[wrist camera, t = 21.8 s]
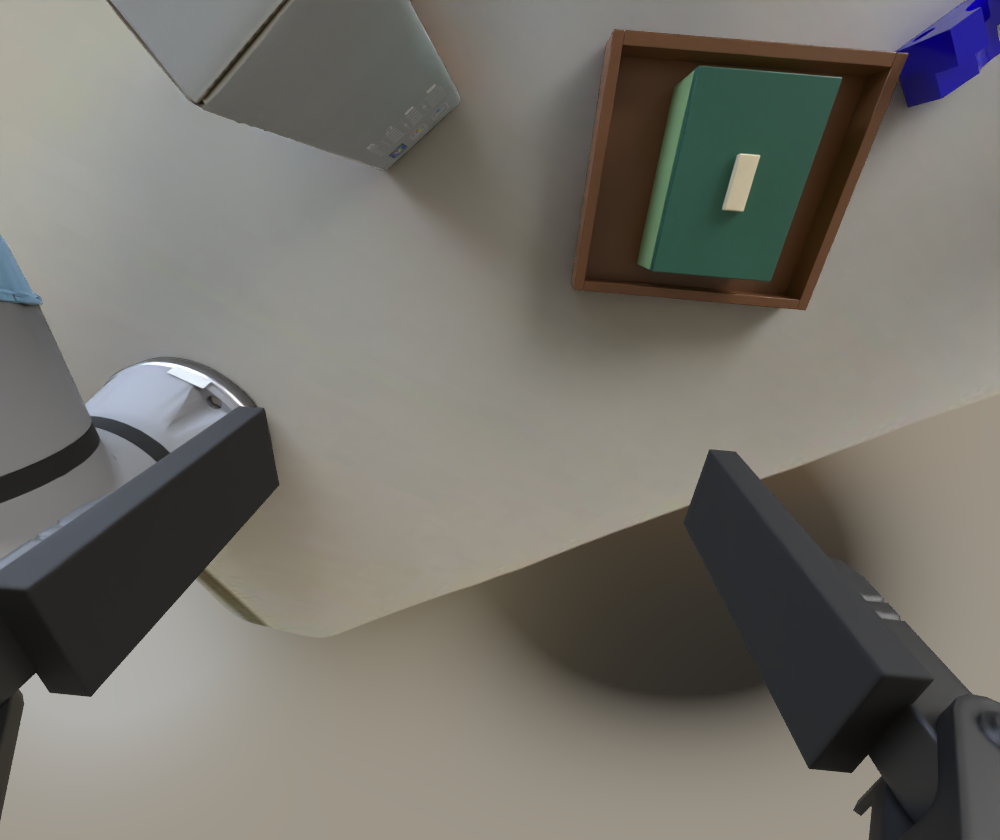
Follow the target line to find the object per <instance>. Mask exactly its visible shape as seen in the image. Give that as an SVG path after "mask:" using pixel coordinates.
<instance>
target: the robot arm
mask: <svg viewBox="0 0 1000 840" xmlns="http://www.w3.org/2000/svg"><path fill="white" fill-rule="evenodd" d="M39 304H41V305H42V304H43V303H42V299H41V297H40V296H38V295H36V294H35V293H33V292H32V290H31V288H30V286H29V284H28V282H27V280H26V279H25V277H24V275H23V273H22V271H21V269H20V267H19V265H18V264H17V262H16V260H15V258H14V256H13V254H12V252H11V250H10V248H9V247H8V245H7V243H6V242H5V240H4V239H3V238H2V237H1V236H0V819H1V814H2V809H3V804H4V800H5V795H6V790H7V785H8V780H9V775H10V770H11V765H12V760H13V755H14V750H15V745H16V741H17V736H18V731H19V726H20V721H21V716H22V711H23V706H24V701H23V695H22V693H21V692H20V690H19V688H20V687H21V686H22V685H23V684H24V683H25V682H26V681H28V679H29V678H31V677H32V675H34V674H35V673H37V674H38V676H39V677H40V679H41V680H42V682H43V683H44V685H45V686H46V688H47V689H48V691H49V692H50V693H60V694H69V695H79V696H89V697H91V696H92V695H93V694H94V693H95V692H96V690H97V689H98V688H99V687H100V686H101V684H103V682H104V681H105V680H106V679H107V678H108V677H109V676H110V675H111V674H112V672H113V671H114V670H115V669H116V668H117V667H118V666H119V665H120V663H121V662H122V661H123V660H124V659H125V658H126V657H127V655H128V654H129V653H130V652H131V651H132V650H133V649H134V647H135V646H136V645H137V644H138V643H139V642H140V641H141V640H142V639H143V638H144V636H145V635H146V634H147V633H148V632H149V631H150V630H151V629H152V627H153V626H154V625H155V624H156V623H157V622H158V621H159V620H160V618H161V617H162V616H163V615H164V614H165V613H166V612H167V611H168V609H169V608H170V607H171V606H172V605H173V604H174V603H175V602H176V600H177V599H178V598H179V597H180V596H181V595H182V594H183V593H184V591H185V590H186V589H187V588H188V587H189V586H190V585H191V584H192V582H193V581H194V580H195V579H196V578H197V577H198V576H199V575H200V573H201V572H202V571H203V570H204V569H205V568H206V567H207V566H208V564H209V563H210V562H211V561H212V560H213V559H214V558H215V557H216V556H217V554H218V553H219V552H220V551H221V550H222V549H223V548H224V547H225V545H226V544H227V543H228V542H229V541H230V540H231V539H232V538H233V536H234V535H235V534H236V533H237V532H238V531H239V530H240V529H241V527H242V526H243V525H244V524H245V523H246V522H247V521H248V520H249V518H250V517H251V516H252V515H253V514H254V513H255V512H256V511H257V509H258V508H259V507H260V506H261V505H262V504H263V503H264V502H265V500H266V499H267V498H268V497H269V496H270V495H271V494H272V493H273V491H274V490H275V489H276V488H277V487H278V486H279V481H278V476H277V471H276V466H275V461H274V455H273V450H272V444H271V437H270V433H269V430H268V425H267V419H266V414H265V409H264V408H257V407H256V405H255V404H254V403H253V401H252V400H251V399H250V398H249V397H248V396H247V395H246V394H245V392H244V391H242V390H241V389H240V388H239V387H238V386H237V385H236V384H234V383H233V382H232V381H231V380H229V379H228V378H226V377H225V376H223V375H222V374H220V373H218V372H217V371H215V370H213V369H211V368H209V367H207V366H204V365H202V364H199V363H196V362H193V361H190V360H185V359H180V358H171V357H161V358H153V359H149V360H145V361H142V362H140V363H137V364H135V365H132V366H130V367H127V368H125V369H123V370H121V371H119V372H117V373H116V374H114V375H113V376H112V377H111V378H110V379H109V380H108V381H107V382H106V384H105V385H104V386H103V388H102V389H100V390H99V391H98V392H97V393H96V394H95V395H94V396H93V397H92V398H91V399H90V400H89V401H88V402H87V403H86V404H84V402H83V400H82V398H81V396H80V394H79V391H78V389H77V387H76V385H75V383H74V380H73V378H72V376H71V374H70V372H69V370H68V367H67V365H66V363H65V361H64V359H63V356H62V354H61V352H60V350H59V348H58V346H57V343H56V341H55V339H54V337H53V335H52V332H51V330H50V328H49V326H48V324H47V321H46V319H45V317H44V315H43V313H42V311H41V308H40V306H39ZM684 525H685V527H686V529H687V531H688V533H689V535H690V537H691V539H692V541H693V542H694V544H695V546H696V548H697V550H698V552H699V554H700V556H701V558H702V560H703V562H704V564H705V566H706V568H707V570H708V572H709V574H710V576H711V578H712V580H713V582H714V583H715V586H716V588H717V590H718V591H719V593H720V595H721V597H722V599H723V601H724V603H725V605H726V607H727V609H728V611H729V613H730V615H731V617H732V619H733V621H734V623H735V625H736V627H737V629H738V631H739V632H740V635H741V637H742V638H743V640H744V642H745V644H746V646H747V648H748V650H749V652H750V654H751V656H752V658H753V660H754V662H755V664H756V666H757V668H758V670H759V672H760V674H761V676H762V678H763V680H764V682H765V684H766V686H767V688H768V689H769V691H770V693H771V695H772V697H773V699H774V701H775V703H776V705H777V707H778V709H779V711H780V713H781V715H782V717H783V719H784V720H785V723H786V725H787V727H788V729H789V731H790V732H791V735H792V737H793V738H794V740H795V742H796V744H797V746H798V748H799V750H800V752H801V754H802V756H803V758H804V760H805V762H806V764H807V766H808V768H809V769H817V770H827V771H837V772H848V773H852V772H853V771H854V770H855V769H856V767H857V766H858V765H859V764H860V763H861V762H862V761H863V759H864V758H865V757H866V756H867V755H869V756H870V758H871V759H872V761H873V763H874V764H875V766H876V767H877V769H878V770H879V772H880V774H881V775H882V776H881V777H880V778H879V780H877V782H875V783H874V785H873V786H872V787H871V788H870V789H869V790H868V791H867V792H866V793H865V794H864V795H863V796H862V797H861V798H860V799H859V800H858V802H857V804H856V806H855V808H854V811H855V812H856V813H858V814H859V815H862V814H863V813H864V812H865V811H866V810H867V809H868V808H869V807H870V806H872V813H871V822H870V833H869V840H1000V703H999V702H996V701H994V700H992V699H989V698H987V697H983V696H978V695H973V694H972V693H971V692H970V691H969V690H968V689H967V688H966V687H965V686H964V685H963V684H962V683H961V681H960V680H959V679H958V678H957V677H956V676H955V675H954V674H953V673H952V672H951V671H950V670H949V669H948V667H947V666H946V665H945V664H944V663H943V662H942V661H941V660H940V659H939V658H938V657H937V656H936V655H935V653H934V652H933V651H932V650H931V649H930V648H929V647H928V646H927V645H926V644H925V643H924V642H923V641H922V639H921V638H920V637H919V636H918V635H917V634H916V633H915V632H914V631H913V630H912V629H911V627H910V626H909V625H908V624H907V623H906V622H905V621H901V620H900V616H899V615H898V613H897V612H896V611H895V610H894V609H893V608H892V607H891V606H890V605H889V604H888V603H885V602H884V598H883V597H881V595H880V594H879V593H878V592H877V591H876V590H875V589H874V588H873V586H872V585H871V584H870V583H869V582H868V581H867V580H866V579H865V578H864V577H863V576H861V575H860V574H858V573H857V572H856V571H854V570H853V569H852V568H850V567H849V566H848V565H846V564H845V563H843V562H842V561H841V560H839V559H832V558H828V557H827V555H826V554H825V553H824V552H823V551H822V550H821V549H820V547H819V546H818V545H817V544H816V543H815V542H814V541H813V540H812V538H811V537H810V536H809V535H808V534H807V533H806V532H805V530H804V529H803V528H802V527H801V526H800V525H799V523H798V522H797V521H796V520H795V519H794V518H793V517H792V516H791V514H790V513H789V512H788V511H787V510H786V509H785V508H784V506H783V505H782V504H781V503H780V502H779V501H778V500H777V498H776V497H775V496H774V495H773V494H772V493H771V492H770V490H769V489H768V488H767V487H766V486H765V485H764V484H763V482H762V481H761V480H760V479H759V478H758V477H757V476H756V474H755V473H754V472H753V471H752V470H751V469H750V468H749V466H748V465H747V464H746V463H745V462H744V461H743V460H742V458H741V457H740V456H739V455H738V454H737V453H736V452H732V451H721V450H710V449H709V452H708V455H707V458H706V461H705V464H704V466H703V469H702V472H701V475H700V478H699V481H698V483H697V486H696V489H695V492H694V495H693V498H692V501H691V503H690V506H689V509H688V512H687V515H686V518H685V520H684Z"/></svg>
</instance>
